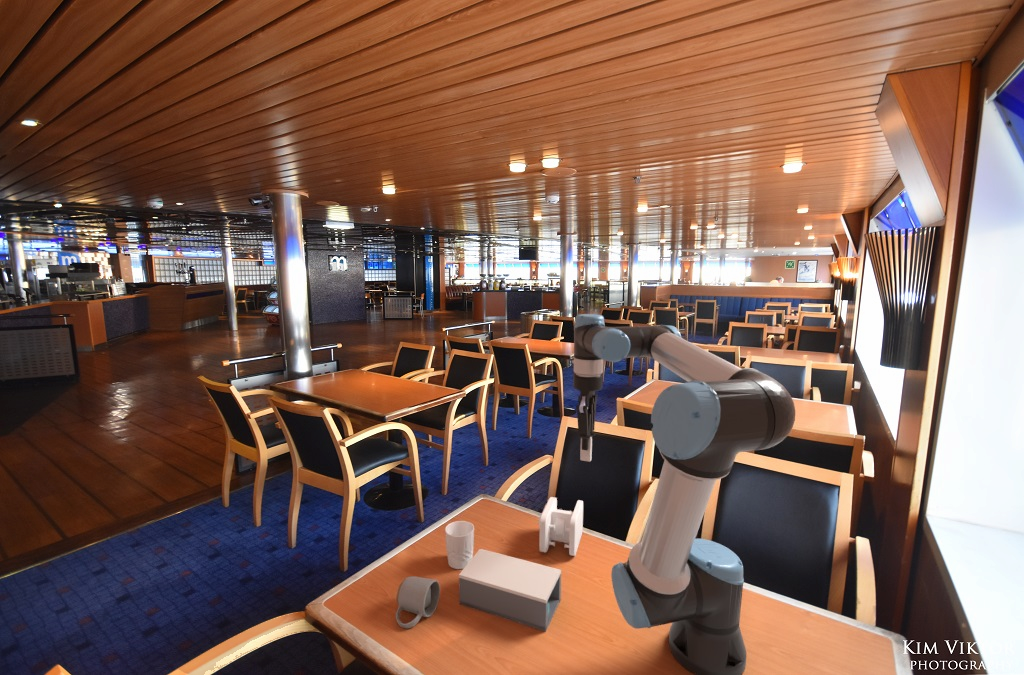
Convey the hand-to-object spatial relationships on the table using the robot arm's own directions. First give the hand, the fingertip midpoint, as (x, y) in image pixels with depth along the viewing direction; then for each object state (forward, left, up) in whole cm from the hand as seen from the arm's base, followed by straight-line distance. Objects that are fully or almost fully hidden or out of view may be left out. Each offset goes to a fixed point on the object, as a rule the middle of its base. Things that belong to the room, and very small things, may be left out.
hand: (585, 459), depth 127 cm
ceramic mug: (+31, +35, -30) cm, 55 cm away
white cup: (+31, +14, -30) cm, 45 cm away
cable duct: (+12, +23, -29) cm, 39 cm away
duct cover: (+12, +23, -22) cm, 34 cm away
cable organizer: (+8, -5, -30) cm, 31 cm away
